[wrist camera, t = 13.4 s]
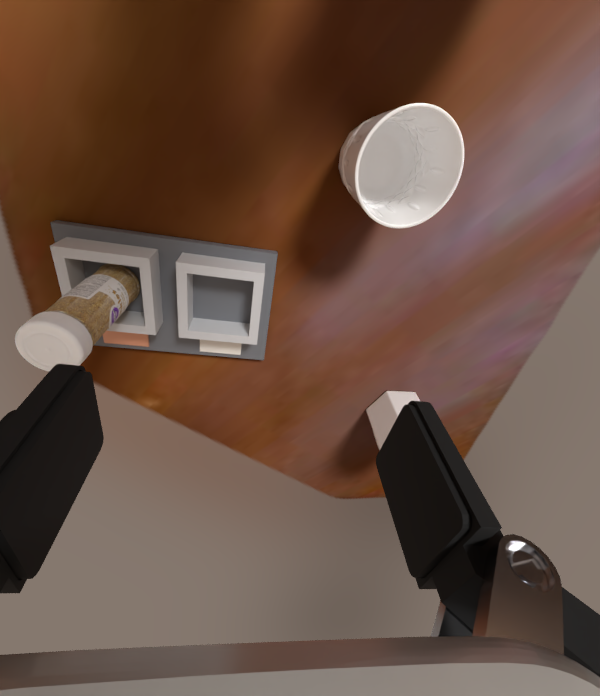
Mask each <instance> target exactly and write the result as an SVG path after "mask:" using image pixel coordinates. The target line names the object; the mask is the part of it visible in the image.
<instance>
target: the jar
mask: <svg viewBox="0 0 600 696" xmlns="http://www.w3.org/2000/svg"><path fill="white" fill-rule="evenodd" d="M410 401H420V400H419V398H418V396H417V394H416V393H415V392H401V391H386V392H385V393H384V394H383V395H381V396H380V397H379V398H378V399H377V400H376V401H375V402H374V403H373V404H372V405H370V406H369V407H368V408H367V409H366V412H367V415H368V418H369V421H370V423H371V426H372V429H373V433H374V437H375V439H376V443H377V445H378V448H379V450H380V449H381V447H382V445H383V443H384V441H385V440H386V438H387V436H388V434H389V432H390V430H391V428H392V426H393V425H394V423H395V421H396V419H397V417H398V415H399V413H400V411H401V410H402V408H403V406H404V405H407V404H408V403H409V402H410Z"/></svg>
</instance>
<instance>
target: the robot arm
mask: <svg viewBox="0 0 600 696" xmlns="http://www.w3.org/2000/svg"><path fill="white" fill-rule="evenodd" d="M102 444H103V432H102V426H101V421H100V416H99V411H98V405H97V400H96V395H95V389H94V384H93V379H92V375H91V373H90V372H86V371H85V368H84V367H83V366H77V365H68V364H56V365H55V366H54V367H53V368H52V369H51V370H50V371H49V373H48V374H47V375H46V376H45V377H44V378H43V380H42V381H41V382H40V383H39V384H38V385H37V386H36V388H35V389H34V390H33V391H32V392H31V393H30V395H29V396H28V397H27V398H26V399H25V400H24V401H23V403H22V404H21V405H20V406H19V407H18V408H17V410H14V411H11V412H9V413H8V414H7V415H6V416H5V417H4V418H3V419H2V420H1V421H0V593H20V591H21V590H22V588H23V586H24V584H25V582H26V580H27V579H31V578H33V577H34V576H35V575H36V574H37V573H38V571H39V569H40V568H41V566H42V564H43V562H44V560H45V558H46V556H47V554H48V552H49V550H50V548H51V546H52V544H53V542H54V540H55V538H56V536H57V534H58V532H59V530H60V528H61V526H62V524H63V522H64V520H65V519H66V517H67V515H68V513H69V511H70V509H71V506H72V504H73V503H74V501H75V499H76V497H77V495H78V493H79V491H80V489H81V487H82V485H83V483H84V481H85V479H86V477H87V475H88V473H89V471H90V469H91V467H92V465H93V463H94V461H95V460H96V457H97V456H98V454H99V452H100V450H101V447H102ZM376 466H377V469H378V472H379V476H380V479H381V482H382V485H383V489H384V492H385V495H386V498H387V501H388V505H389V508H390V511H391V514H392V517H393V521H394V524H395V527H396V530H397V534H398V537H399V540H400V543H401V547H402V550H403V553H404V555H405V559H406V563H407V566H408V569H409V572H410V574H411V575H412V576H413V577H415V578H416V581H417V584H418V587H419V589H437V591H438V594H439V597H440V599H441V600H440V604H439V607H438V611H437V615H436V619H435V623H434V626H433V630H432V633H431V637H404V638H403V637H402V638H374V639H373V638H372V639H343V640H315V641H289V642H263V643H237V644H212V645H190V646H189V645H188V646H165V647H142V648H121V649H120V648H119V649H98V650H97V649H96V650H75V651H58V652H42V653H26V654H9V655H0V696H600V615H599V614H598V613H596V612H595V611H594V610H592V609H591V608H590V607H588V606H587V605H586V604H584V603H583V602H582V601H580V600H579V599H577V598H576V597H575V596H573V595H572V594H571V593H569V592H568V591H567V590H565V589H564V588H563V587H562V584H561V579H560V576H559V574H558V572H557V570H556V567H555V566H554V565H553V563H552V562H551V560H550V559H549V557H548V556H547V555H546V554H545V553H544V552H543V551H542V550H541V549H540V548H539V547H537V546H536V545H535V544H533V543H532V542H531V541H529V540H527V539H525V538H523V537H522V536H518V535H514V534H510V535H505V536H503V534H502V533H501V531H500V529H501V528H502V527H501V525H500V524H499V522H498V520H497V519H496V517H495V515H494V513H493V512H492V510H491V508H490V506H489V505H488V503H487V501H486V499H485V497H484V496H483V494H482V492H481V490H480V489H479V487H478V485H477V483H476V482H475V480H474V478H473V476H472V475H471V473H470V471H469V469H468V468H467V466H466V464H465V462H464V461H463V459H462V457H461V455H460V454H459V452H458V450H457V448H456V446H455V445H454V443H453V441H452V439H451V438H450V436H449V434H448V432H447V431H446V429H445V427H444V425H443V424H442V422H441V420H440V418H439V417H438V415H437V413H436V411H435V410H434V408H433V406H432V405H431V404H430V403H429V402H421V401H410V402H409V403H408V404H407V405H404V406H403V408H402V410H401V411H400V413H399V415H398V417H397V419H396V421H395V423H394V425H393V426H392V428H391V430H390V432H389V434H388V436H387V438H386V440H385V441H384V443H383V445H382V447H381V449H380V451H379V453H378V455H377V458H376Z"/></svg>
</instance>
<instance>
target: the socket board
mask: <svg viewBox="0 0 600 696" xmlns="http://www.w3.org/2000/svg"><path fill="white" fill-rule="evenodd" d="M50 223H51V227H52V232H53V236H54V240H55V243H54V244H52V245H50V249H51V253H52V257H53V261H54V265H55V269H56V273H57V277H58V281H59V285H60V289H61V293H62V296H64V295H65V294H66V293H68V292H69V291H70V290H72V289H73V288H74V287H76V286H77V285H78V284H80V283H81V282H82V281H83V280H85V279H86V278H88V277H89V276H92V275H93V274H94V273H95V272H96V271H97V270H98V269H99V268H100V267H101V266H103V265H105V264H117V265H122V266H125V267H126V268H128V269H130V270H131V271H132V272H133V273H134V274H135V276H136V277H137V279H138V281H139V284H140V292H139V294H138V296H137V298H136V299H135V300H134V301H132V302H131V303H130V304H129V305H128V306H127V308H126V310H125V311H124V312H123V313H122V314H121V315H120V317H119V318H118V319H117V320H116V321H115V322H114V323H113V325H112V326H111V327H110V328H109V329H107V330H106V331H105V333H104V334H103V335H102V336H101V337H100V338H99V340H98V341H97V342H96V343H95V344H94V345H96V346H108V347H119V348H131V349H142V350H153V351H165V352H176V353H187V354H199V355H210V356H222V357H233V358H244V359H256V360H264V354H265V347H266V339H267V331H268V324H269V316H270V308H271V301H272V293H273V285H274V278H275V270H276V262H277V255H278V253H277V251H271V250H264V249H257V248H250V247H243V246H236V245H229V244H222V243H215V242H208V241H201V240H193V239H186V238H179V237H172V236H165V235H158V234H151V233H144V232H137V231H130V230H123V229H116V228H109V227H101V226H94V225H87V224H80V223H73V222H66V221H59V220H55V221H52V222H50Z"/></svg>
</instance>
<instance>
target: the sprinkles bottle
mask: <svg viewBox="0 0 600 696" xmlns="http://www.w3.org/2000/svg"><path fill="white" fill-rule="evenodd" d="M139 292H140V284H139V281H138V279H137V277H136V276H135V274H134V273H133V272H132V271H131V270H130V269H128V268H126V267H125V266H122V265H117V264H105V265H103V266H101V267H100V268H99V269H98V270H97V271H96V272H95V273H94V274H93V275H92V276H89V277H88V278H86V279H85V280H83V281H82V282H81V283H80V284H78V285H77V286H76V287H74V288H73V289H72V290H70V291H69V292H68V293H66V294H65V295H64V296H62V297H61V298H60V299H59V300H57V301H56V303H55V304H53V305H52V306H51V307H49V308H48V309H47V310H46V311H44V312H41V313H39V314H37V315H35V316H33V317H32V318H31V319H29V320H28V321H27V322H26V323H25V324H23V325H22V326H21V327H20V328H19V329H18V331H17V332H16V335H15V344H16V347H17V349H18V351H19V353H20V354H21V356H22V357H23V358H24V359H25V360H27V361H28V362H29V363H30V364H32V365H33V366H35V367H37V368H39V369H42V370H45V371H48V372H49V371H50V370H51V369H52V368H53V367H54V366H55V365H56V364H68V365H77V366H80V365H81V364H82V363H83V361H84V360H85V359H86V358H87V357H88V356H89V354H90V353H91V351H92V347H93V346H94V344H95V343H96V342H97V341H98V340H99V338H100V337H101V336H102V335H103V334H104V333H105V331H106V330H107V329H109V328H110V327H111V326H112V325H113V323H114V322H115V321H116V320H117V319H118V318H119V317H120V315H121V314H122V313H123V312H124V311H125V310H126V308H127V306H128V305H129V304H130V303H131V302H132V301H134V300H135V299H136V298H137V296H138V294H139Z"/></svg>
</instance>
